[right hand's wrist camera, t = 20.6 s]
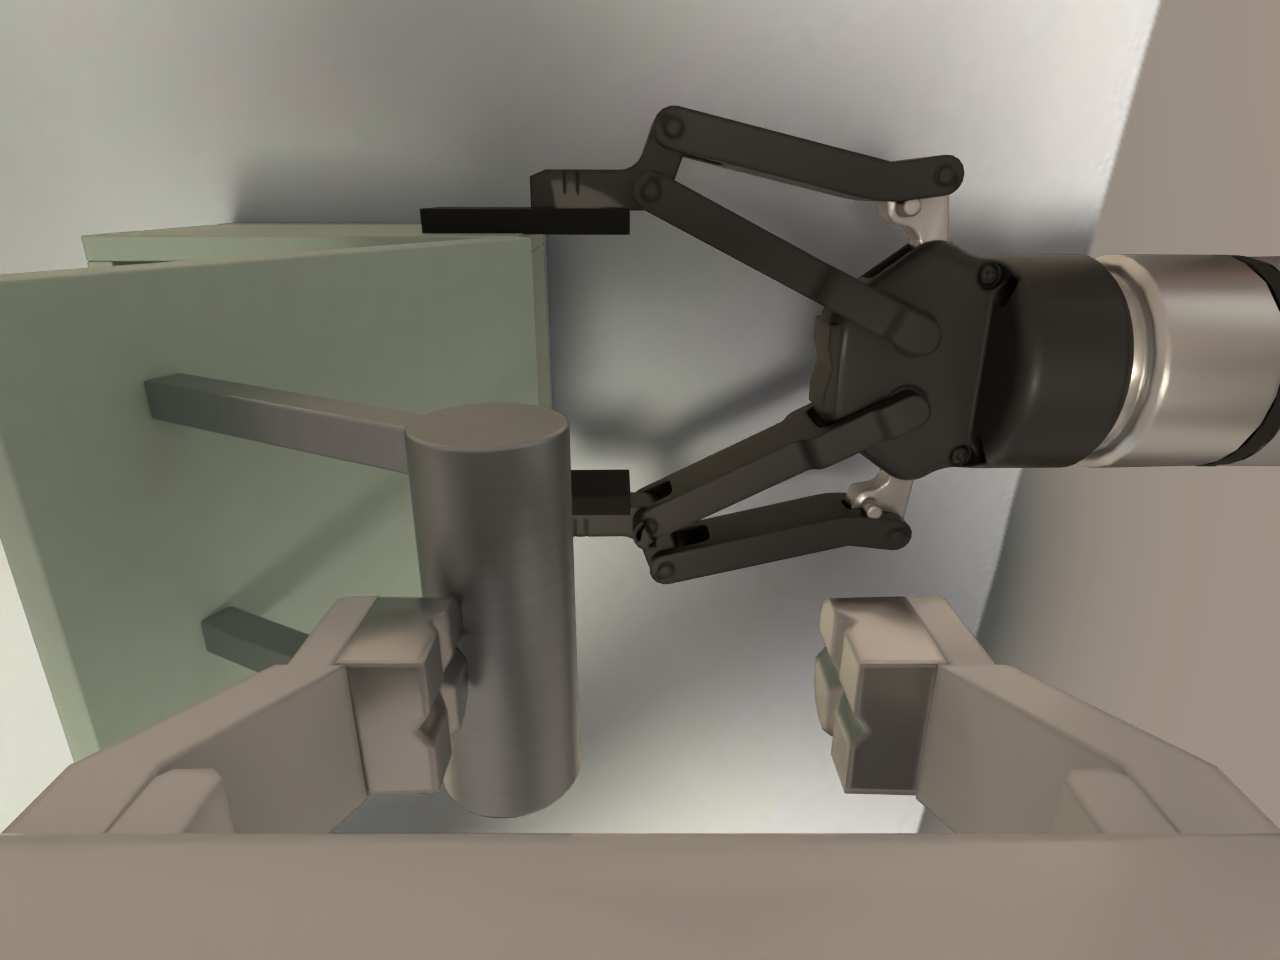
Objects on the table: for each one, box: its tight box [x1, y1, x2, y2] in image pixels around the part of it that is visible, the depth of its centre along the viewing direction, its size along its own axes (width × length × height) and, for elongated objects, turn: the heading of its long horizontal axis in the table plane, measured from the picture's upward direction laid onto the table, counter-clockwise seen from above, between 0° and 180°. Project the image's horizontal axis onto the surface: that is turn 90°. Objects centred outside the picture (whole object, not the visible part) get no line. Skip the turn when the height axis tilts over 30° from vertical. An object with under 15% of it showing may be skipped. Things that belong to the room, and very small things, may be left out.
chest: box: [82, 223, 553, 410], centre depth 28 cm, size 13×9×9 cm
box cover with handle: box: [0, 236, 580, 818], centre depth 16 cm, size 14×9×9 cm
